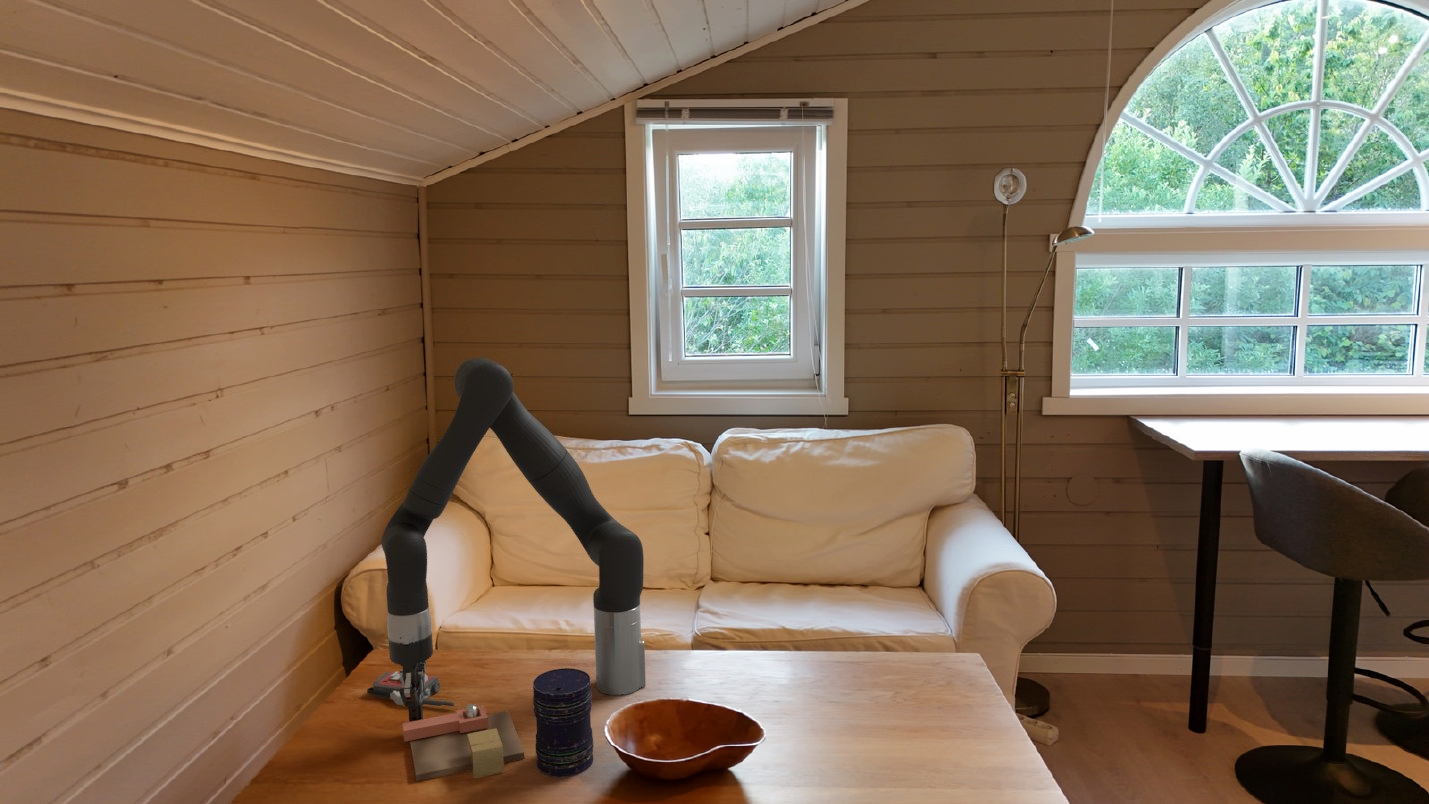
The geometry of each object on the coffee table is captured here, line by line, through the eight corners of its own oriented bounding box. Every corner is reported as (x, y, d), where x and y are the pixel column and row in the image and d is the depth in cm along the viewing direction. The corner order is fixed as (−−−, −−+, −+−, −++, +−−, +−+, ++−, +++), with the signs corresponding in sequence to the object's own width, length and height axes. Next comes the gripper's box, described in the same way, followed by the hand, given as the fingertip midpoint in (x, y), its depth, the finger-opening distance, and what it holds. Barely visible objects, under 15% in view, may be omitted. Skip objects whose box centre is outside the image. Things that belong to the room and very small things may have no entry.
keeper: (497, 753, 167) (496, 728, 166) (504, 772, 161) (502, 746, 160) (468, 759, 165) (467, 734, 164) (474, 778, 159) (472, 752, 158)
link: (484, 715, 178) (483, 705, 177) (488, 727, 173) (487, 717, 173) (402, 731, 172) (402, 720, 172) (404, 744, 168) (404, 733, 167)
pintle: (477, 728, 176) (475, 703, 175) (478, 733, 174) (477, 707, 173) (467, 730, 175) (465, 705, 174) (468, 735, 173) (466, 709, 173)
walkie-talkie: (360, 702, 187) (451, 714, 182) (358, 681, 186) (450, 692, 181) (386, 682, 195) (474, 693, 190) (384, 662, 195) (473, 672, 190)
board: (508, 716, 180) (508, 710, 180) (524, 758, 165) (524, 752, 165) (408, 736, 173) (408, 730, 173) (416, 781, 159) (416, 775, 158)
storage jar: (543, 746, 169) (539, 667, 167) (598, 746, 169) (595, 667, 166) (530, 778, 159) (526, 694, 157) (589, 778, 159) (585, 694, 156)
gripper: (395, 619, 177) (401, 706, 180) (380, 649, 164) (387, 742, 167) (437, 616, 178) (442, 703, 181) (425, 646, 165) (431, 738, 168)
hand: (416, 721), depth 174 cm, fingers closed
